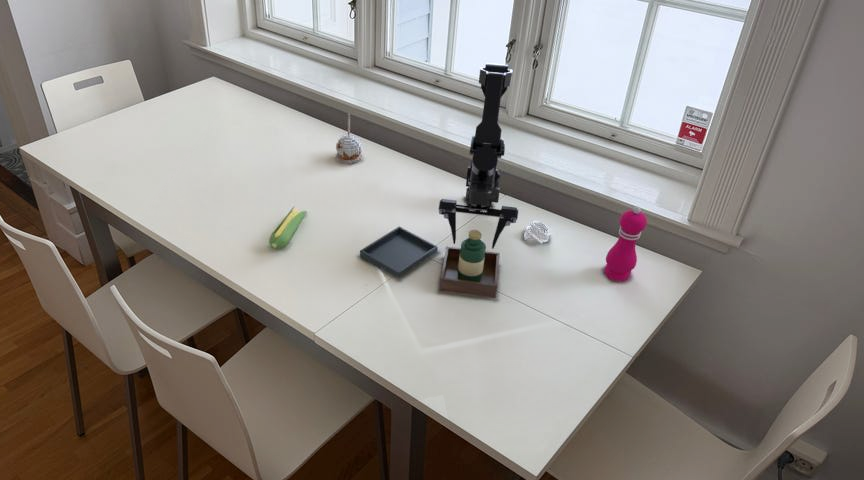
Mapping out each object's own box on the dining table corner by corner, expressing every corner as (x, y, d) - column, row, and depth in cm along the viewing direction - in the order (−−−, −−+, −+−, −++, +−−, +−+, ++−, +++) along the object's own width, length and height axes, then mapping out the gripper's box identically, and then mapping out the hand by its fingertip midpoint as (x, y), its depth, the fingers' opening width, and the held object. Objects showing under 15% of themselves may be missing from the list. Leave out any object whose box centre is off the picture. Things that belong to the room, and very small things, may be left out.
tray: (398, 232, 178) (399, 226, 177) (437, 253, 172) (437, 246, 170) (359, 257, 169) (359, 250, 168) (398, 279, 163) (399, 272, 161)
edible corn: (265, 251, 170) (263, 237, 167) (294, 211, 185) (293, 197, 183) (284, 255, 169) (282, 240, 166) (312, 214, 184) (311, 200, 182)
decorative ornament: (339, 151, 213) (338, 108, 204) (363, 153, 213) (363, 110, 203) (334, 163, 207) (333, 118, 198) (359, 165, 206) (359, 121, 197)
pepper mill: (598, 265, 169) (617, 198, 157) (625, 264, 170) (646, 198, 158) (607, 283, 164) (628, 215, 151) (636, 282, 164) (659, 215, 152)
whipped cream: (524, 230, 183) (525, 214, 180) (549, 231, 181) (550, 216, 179) (523, 245, 176) (524, 229, 173) (549, 246, 175) (550, 230, 172)
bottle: (475, 267, 166) (481, 224, 158) (485, 281, 162) (492, 238, 154) (453, 271, 165) (458, 228, 157) (462, 286, 160) (468, 242, 152)
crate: (444, 259, 170) (446, 246, 167) (497, 265, 168) (499, 252, 166) (439, 292, 159) (440, 278, 157) (495, 299, 158) (497, 286, 155)
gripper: (442, 169, 154) (433, 235, 152) (524, 178, 152) (515, 245, 150) (443, 182, 165) (435, 243, 163) (519, 190, 163) (511, 253, 161)
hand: (473, 246), depth 159 cm, fingers open, 9 cm apart
